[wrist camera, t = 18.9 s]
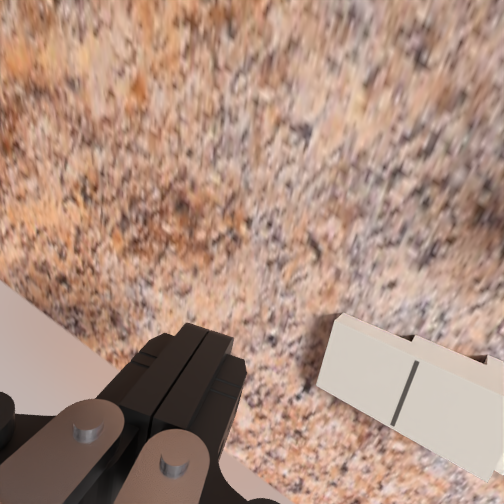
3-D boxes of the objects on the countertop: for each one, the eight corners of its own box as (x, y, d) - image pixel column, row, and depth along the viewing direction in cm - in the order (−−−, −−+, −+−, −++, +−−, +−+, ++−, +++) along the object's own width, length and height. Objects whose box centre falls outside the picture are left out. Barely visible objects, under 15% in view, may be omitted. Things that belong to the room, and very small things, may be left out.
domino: (315, 385, 23) (487, 482, 18) (334, 320, 21) (528, 407, 16) (325, 374, 24) (487, 462, 19) (343, 312, 23) (525, 390, 18)
